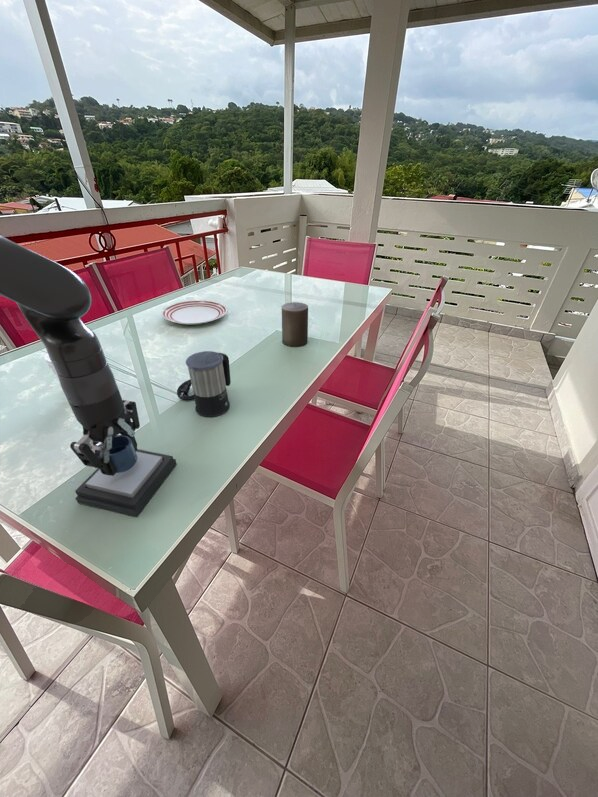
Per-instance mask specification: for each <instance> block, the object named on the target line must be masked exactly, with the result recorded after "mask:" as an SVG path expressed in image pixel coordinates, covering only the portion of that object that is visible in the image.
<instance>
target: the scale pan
mask: <svg viewBox="0 0 598 797" xmlns="http://www.w3.org/2000/svg"><path fill="white" fill-rule="evenodd" d="M136 454H137V457H138V459H137V462H136V463H135V465H134V466H133V467H132V468H131V469H129V470H127V471H125V472H122V473H116V474H115V475H114V476H111V475H110V476H109V475H105V474H102V473H101V471H100V470H99V471H98V472H97V473H96V474H95V475H94V476H93V477H92V478H91V479H90V480H89V481H88V482H87V483H86V486H87V487H88V488H89V489H94V490H98V491H102V492H107V493H111V494H115V495H120V496H124V497H129V498H134V496H135V495H136V494H137V493H138V491H139V490H140V489H141V488H142V486H143V485H144V484H145V483H146V482H147V480H148V479H149V478H150V477H151V475H152V474H153V473H154V472H155V470H156V469H157V468H158V467H159V465H160V464H161V463H162V462H163V459H162V457H161V456H156V455H151V454H146V453H141V452H136Z"/></svg>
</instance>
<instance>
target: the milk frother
mask: <svg viewBox="0 0 598 797" xmlns="http://www.w3.org/2000/svg"><path fill="white" fill-rule="evenodd" d="M185 365H186V366H187V371H188V376H189V379H187V380H185V381H184V382H182V383H181V384H180V385H179V386H178V388H177V390H176V395H177V397H178V398H179V399H181V400H184V401H193V400H194V404H195V406H194V407H195V408H194V409H195V412H196V413H197V414H198V415H200V416H202V417H206V418H208V417H209V418H211V417H212V418H213V417H218V416H220V415H223V414H225V413H226V412H227V411H228V410H229V408H230V407H231V403H230V400H229V396H228V390H227V387H230V386H231V382H232V381H231V369H230V368H231V367H230V359H229V357H228V355H227V354H226V353H224V352H218V351H217V352H216V351H212V350H208V351H207V350H205V351H199V352H195V353H193V354H191V355H189V356H188V357H187V358H186V360H185ZM191 388H192V392H193V394H191V395H189V393H190V390H191Z"/></svg>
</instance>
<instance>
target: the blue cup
mask: <svg viewBox="0 0 598 797" xmlns="http://www.w3.org/2000/svg"><path fill="white" fill-rule="evenodd" d="M100 444H103V445H104V443H102V442H100ZM100 455H102V451H100ZM109 459H110V460H111V461H112V463H113V465H114V468H115V470H116V473H122V472H125V471H127V470H129V469H131V468H132V467H133V466H134V465H135V463H136V462H137V459H138V457H137V454H136V451H135V448H134V446H133V443H132V440H131V438H130V437H128V436H126V435H120V434H118V435H116V436H115V437H114V439H113V440H112V449H111V450H110V455H109Z"/></svg>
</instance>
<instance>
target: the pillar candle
mask: <svg viewBox="0 0 598 797" xmlns="http://www.w3.org/2000/svg"><path fill="white" fill-rule="evenodd" d="M280 307H281V340H282V341H281V343H282V344H283V345H284V346H287V347H291V348H299V347H303V346H306V345H307V344H308V340H309V339H308V337H309V305H308V304H307V303H303V302H300V301H293V302H292V301H291V302H287V303H284V304H282V305H281V306H280Z"/></svg>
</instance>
